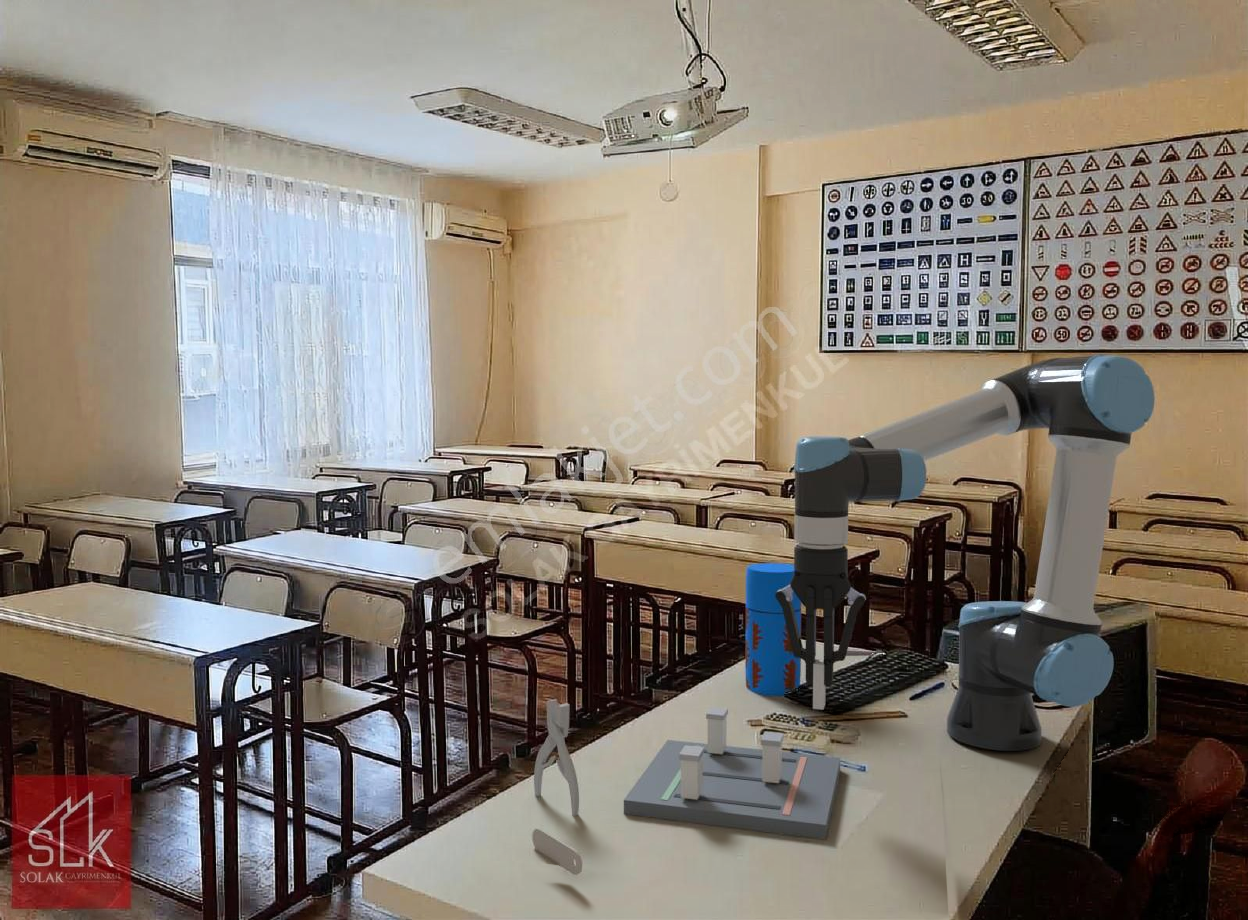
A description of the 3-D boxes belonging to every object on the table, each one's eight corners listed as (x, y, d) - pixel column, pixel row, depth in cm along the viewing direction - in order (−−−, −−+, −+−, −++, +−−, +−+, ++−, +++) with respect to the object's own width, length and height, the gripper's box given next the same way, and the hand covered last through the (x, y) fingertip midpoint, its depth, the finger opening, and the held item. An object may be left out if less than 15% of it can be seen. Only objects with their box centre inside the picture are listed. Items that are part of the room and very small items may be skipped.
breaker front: (704, 790, 138) (704, 747, 138) (698, 800, 135) (698, 756, 135) (684, 787, 139) (685, 745, 139) (679, 797, 136) (679, 753, 135)
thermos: (798, 684, 198) (799, 563, 196) (802, 701, 187) (803, 572, 185) (744, 683, 199) (745, 562, 197) (745, 699, 188) (746, 572, 186)
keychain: (584, 876, 119) (584, 853, 119) (580, 878, 119) (580, 854, 118) (536, 846, 127) (536, 824, 127) (532, 847, 127) (532, 825, 127)
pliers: (584, 813, 137) (583, 709, 136) (575, 816, 136) (574, 711, 135) (542, 792, 144) (542, 693, 143) (534, 794, 143) (533, 695, 142)
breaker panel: (840, 770, 152) (840, 756, 152) (825, 839, 128) (825, 823, 128) (667, 751, 160) (667, 739, 160) (623, 813, 137) (623, 799, 136)
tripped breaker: (783, 774, 144) (783, 733, 144) (779, 783, 141) (780, 741, 140) (764, 772, 145) (764, 731, 145) (760, 781, 141) (761, 739, 141)
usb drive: (834, 660, 217) (834, 648, 217) (888, 660, 217) (888, 648, 217) (839, 666, 212) (839, 654, 212) (894, 666, 212) (894, 654, 212)
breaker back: (727, 746, 156) (728, 708, 155) (723, 754, 152) (723, 715, 152) (710, 745, 156) (710, 706, 156) (706, 752, 153) (706, 713, 153)
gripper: (869, 542, 140) (866, 702, 142) (778, 539, 144) (777, 694, 146) (866, 550, 133) (863, 718, 135) (771, 546, 137) (770, 710, 138)
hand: (819, 706), depth 140 cm, fingers closed
